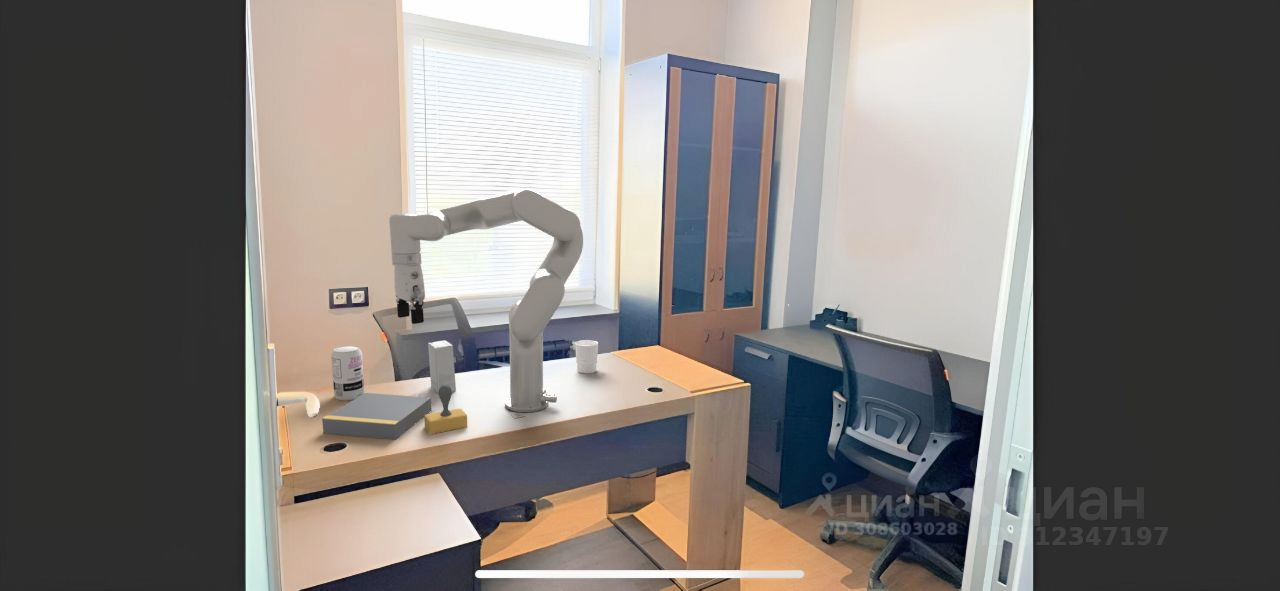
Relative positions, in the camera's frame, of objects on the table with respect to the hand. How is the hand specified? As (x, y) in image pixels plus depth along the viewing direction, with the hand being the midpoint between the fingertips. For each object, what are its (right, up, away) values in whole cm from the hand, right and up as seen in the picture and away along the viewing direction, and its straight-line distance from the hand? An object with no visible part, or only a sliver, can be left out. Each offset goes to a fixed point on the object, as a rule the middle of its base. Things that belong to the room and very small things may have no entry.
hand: (410, 319), depth 177 cm
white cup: (+45, -20, +45) cm, 67 cm away
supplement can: (-24, -24, +14) cm, 37 cm away
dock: (-7, -28, -4) cm, 29 cm away
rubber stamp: (+12, -29, -6) cm, 32 cm away
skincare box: (+2, -23, +23) cm, 32 cm away
